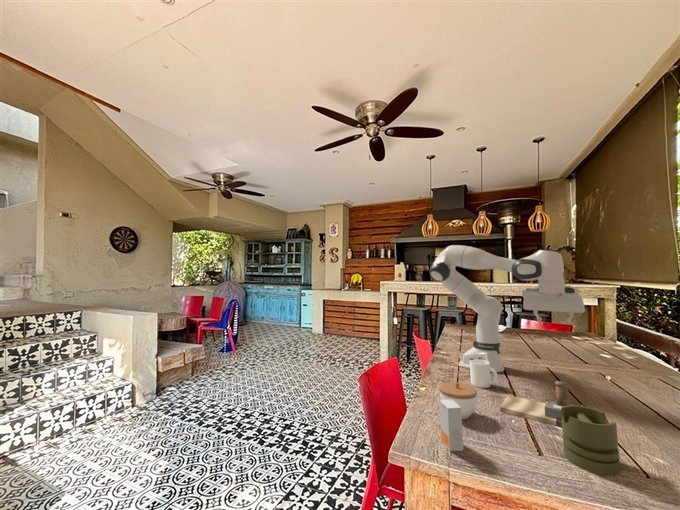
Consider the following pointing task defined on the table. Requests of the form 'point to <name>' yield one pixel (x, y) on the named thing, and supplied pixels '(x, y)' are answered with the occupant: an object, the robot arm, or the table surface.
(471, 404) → the lidded bowl
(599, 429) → the piston
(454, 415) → the skincare box
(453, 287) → the robot arm
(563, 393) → the peg
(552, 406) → the block
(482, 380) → the mug
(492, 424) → the table surface
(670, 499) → the table surface
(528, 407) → the plank
